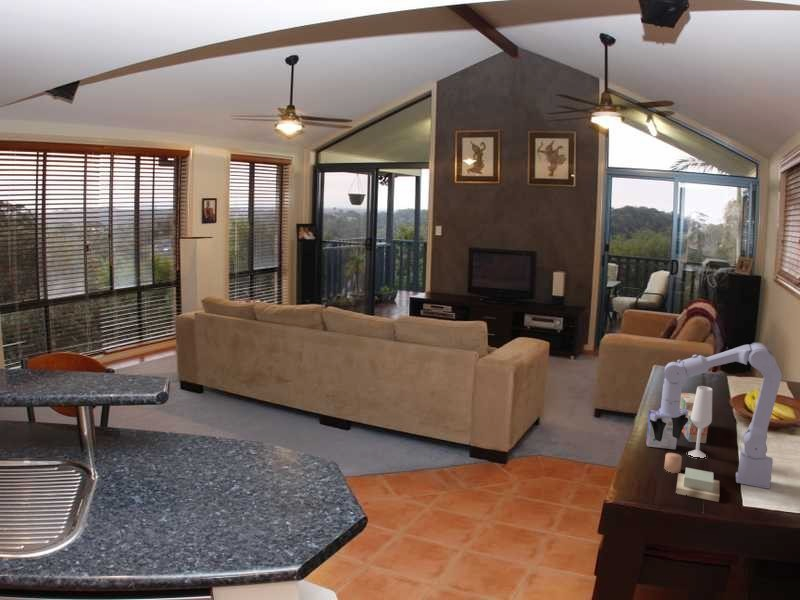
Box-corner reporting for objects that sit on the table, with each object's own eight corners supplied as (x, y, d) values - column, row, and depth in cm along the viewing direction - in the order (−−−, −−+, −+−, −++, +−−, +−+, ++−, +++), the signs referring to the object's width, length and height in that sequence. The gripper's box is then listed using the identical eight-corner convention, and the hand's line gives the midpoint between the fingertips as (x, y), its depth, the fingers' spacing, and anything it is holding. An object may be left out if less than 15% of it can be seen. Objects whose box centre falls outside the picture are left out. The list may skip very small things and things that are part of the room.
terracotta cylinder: (680, 469, 239) (682, 454, 238) (679, 474, 234) (681, 460, 233) (664, 466, 240) (666, 451, 240) (663, 471, 236) (665, 457, 235)
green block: (712, 481, 225) (713, 472, 224) (712, 492, 218) (713, 482, 217) (684, 476, 228) (685, 467, 228) (683, 486, 221) (684, 477, 220)
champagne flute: (696, 450, 255) (704, 384, 251) (711, 457, 249) (720, 390, 245) (682, 452, 252) (689, 386, 248) (696, 459, 246) (705, 392, 242)
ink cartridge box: (674, 444, 260) (678, 405, 257) (676, 450, 254) (681, 410, 252) (645, 441, 262) (649, 402, 259) (647, 447, 256) (651, 407, 254)
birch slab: (718, 488, 227) (719, 480, 226) (718, 504, 216) (719, 496, 215) (677, 480, 231) (678, 472, 231) (675, 495, 220) (676, 487, 220)
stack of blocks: (706, 443, 262) (710, 411, 260) (688, 442, 263) (692, 409, 260) (691, 423, 283) (694, 393, 280) (674, 422, 284) (678, 391, 281)
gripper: (678, 393, 242) (674, 431, 245) (645, 397, 236) (641, 437, 239) (695, 399, 236) (690, 439, 238) (661, 404, 230) (656, 445, 232)
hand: (666, 438), depth 238 cm, fingers open, 7 cm apart
